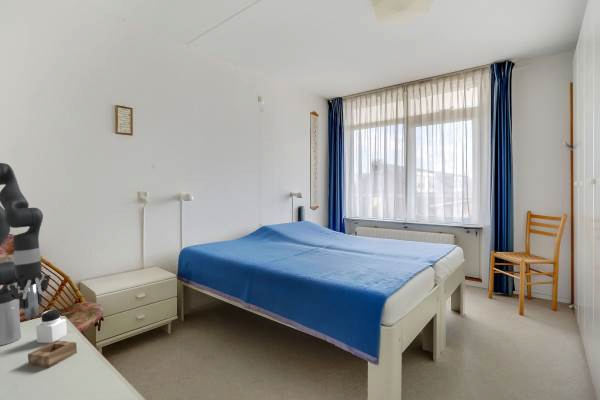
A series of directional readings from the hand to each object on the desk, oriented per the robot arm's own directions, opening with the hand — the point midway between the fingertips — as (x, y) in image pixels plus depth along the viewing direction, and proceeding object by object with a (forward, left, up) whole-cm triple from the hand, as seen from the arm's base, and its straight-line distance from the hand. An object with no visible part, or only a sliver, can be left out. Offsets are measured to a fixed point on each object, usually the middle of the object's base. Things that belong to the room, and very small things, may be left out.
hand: (31, 306), depth 115 cm
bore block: (+9, 0, -19) cm, 21 cm away
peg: (0, 0, -4) cm, 4 cm away
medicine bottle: (-8, +12, -20) cm, 24 cm away
